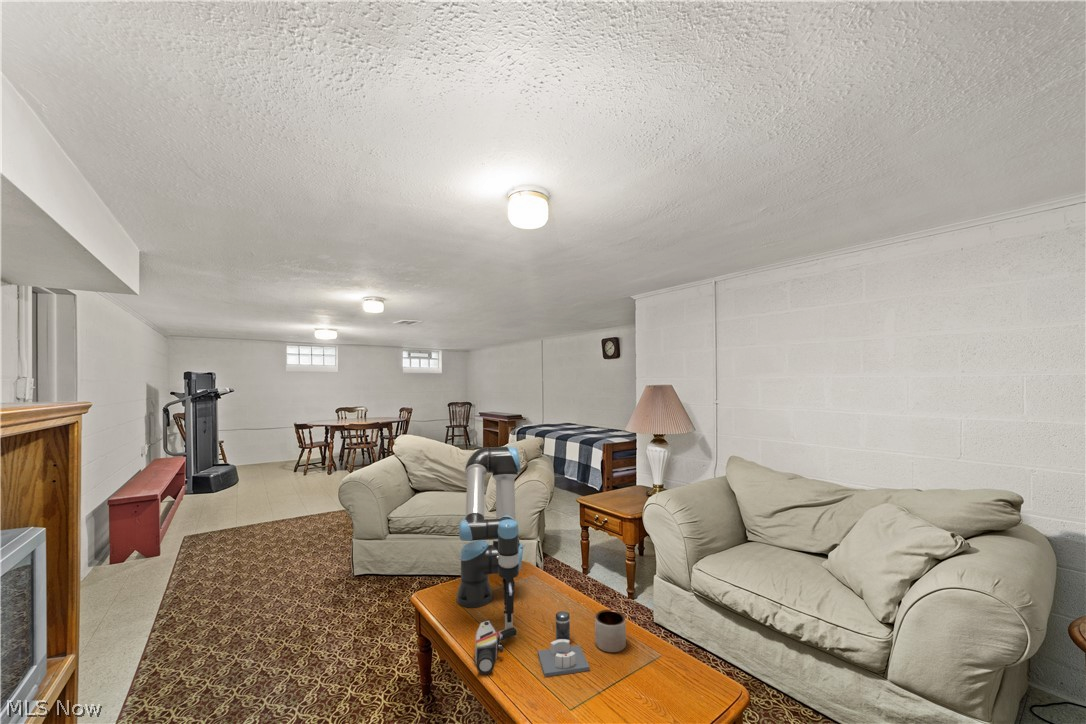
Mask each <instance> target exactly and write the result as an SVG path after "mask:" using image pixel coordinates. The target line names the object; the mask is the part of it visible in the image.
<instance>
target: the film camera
mask: <svg viewBox="0 0 1086 724" xmlns="http://www.w3.org/2000/svg"><path fill="white" fill-rule="evenodd" d="M515 636H518V628H517V627H516V626H513V627H511V628H508V629H505V628H504V629H502V630H499V631H497V630H496V629H495V627H494V625H493V624H492V623H491V621H490V620H486V621H483V622H480V623H479V625H478V628H477V629H476V632H475V643H474V646H475V647H474V648H475V649H474V652H475V654H474V661H475V665H476V664H477V665H476V670H477V672H479V674H481V675H488V674H490V673H492V671H494V670H495V662H496V660H497V659H498V651H499V652H500V653H503V652H504V646H503V645H502V644H500V643H501V642H502V641H505V640H507V639H509V638H513V637H515Z"/></svg>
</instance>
